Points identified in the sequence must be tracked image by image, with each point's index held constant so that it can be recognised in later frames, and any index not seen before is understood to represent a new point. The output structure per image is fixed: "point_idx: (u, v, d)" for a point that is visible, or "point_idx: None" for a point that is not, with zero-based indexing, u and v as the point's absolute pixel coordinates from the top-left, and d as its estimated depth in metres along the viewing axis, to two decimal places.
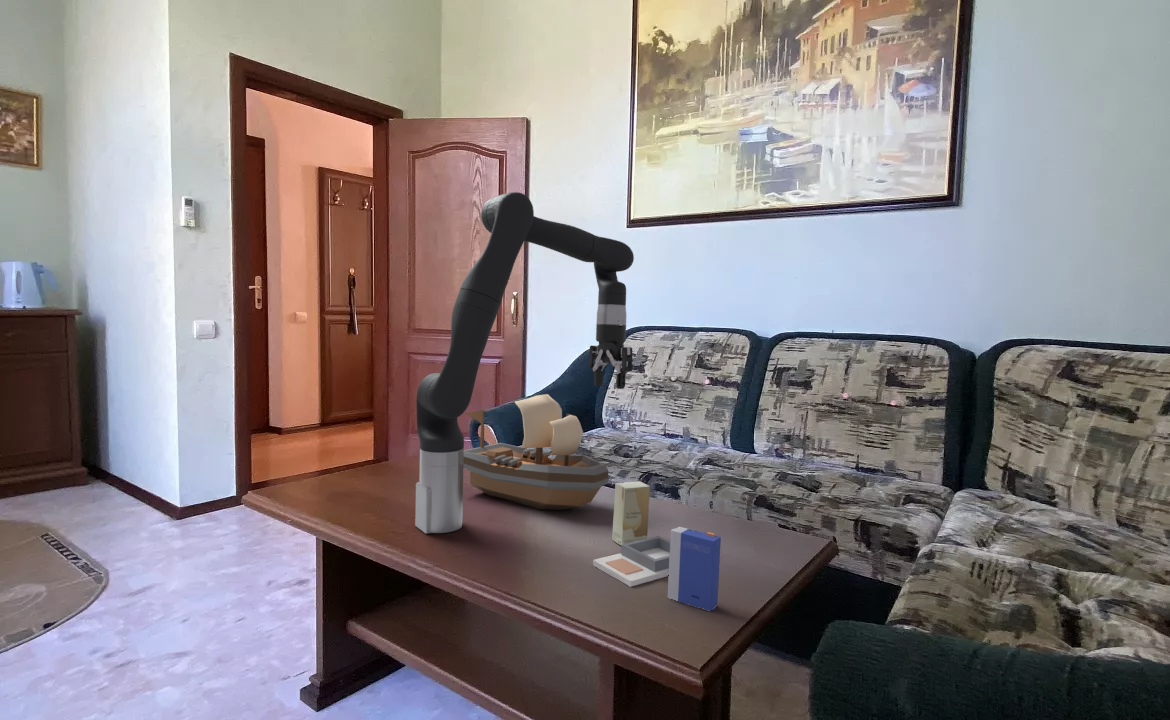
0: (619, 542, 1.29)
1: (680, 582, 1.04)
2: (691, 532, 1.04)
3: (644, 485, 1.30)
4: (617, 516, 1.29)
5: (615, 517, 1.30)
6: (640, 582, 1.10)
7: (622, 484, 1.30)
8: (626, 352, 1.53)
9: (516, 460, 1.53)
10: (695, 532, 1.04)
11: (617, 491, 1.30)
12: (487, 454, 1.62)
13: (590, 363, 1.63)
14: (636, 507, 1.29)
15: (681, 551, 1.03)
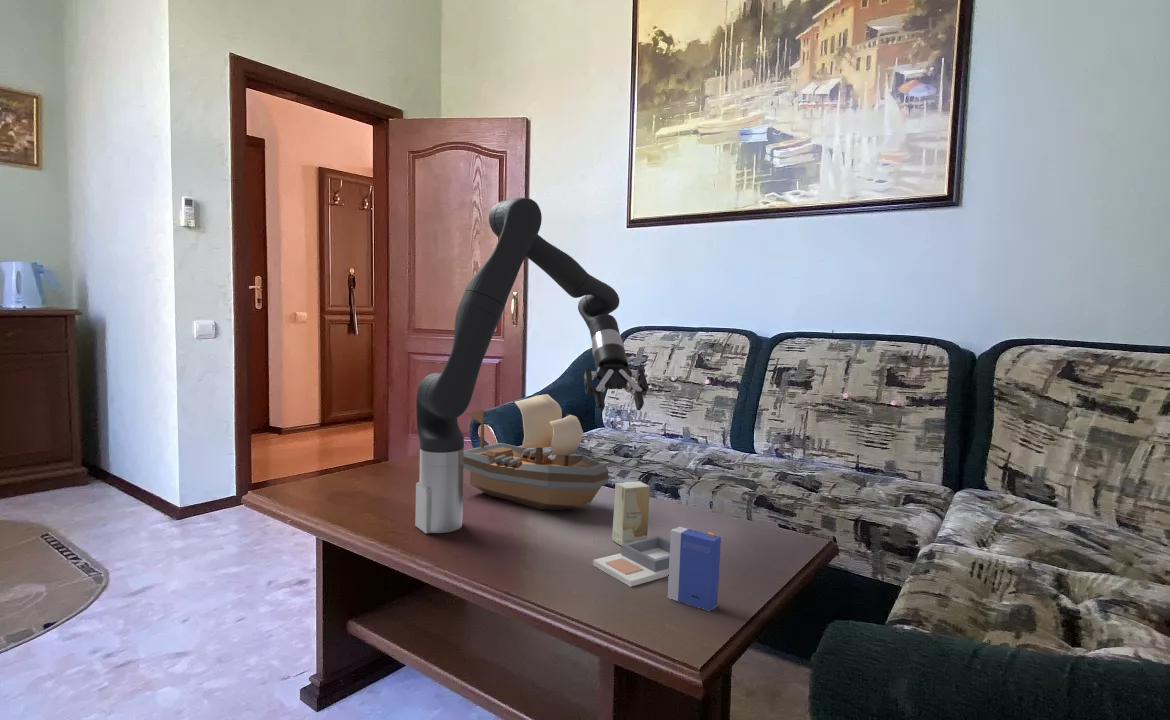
0: (619, 542, 1.29)
1: (680, 582, 1.04)
2: (691, 532, 1.04)
3: (643, 485, 1.30)
4: (617, 516, 1.30)
5: (615, 517, 1.30)
6: (640, 582, 1.10)
7: (622, 484, 1.30)
8: None
9: (516, 460, 1.53)
10: (695, 532, 1.04)
11: (617, 491, 1.30)
12: (487, 454, 1.62)
13: (590, 384, 1.40)
14: (636, 507, 1.29)
15: (681, 551, 1.03)
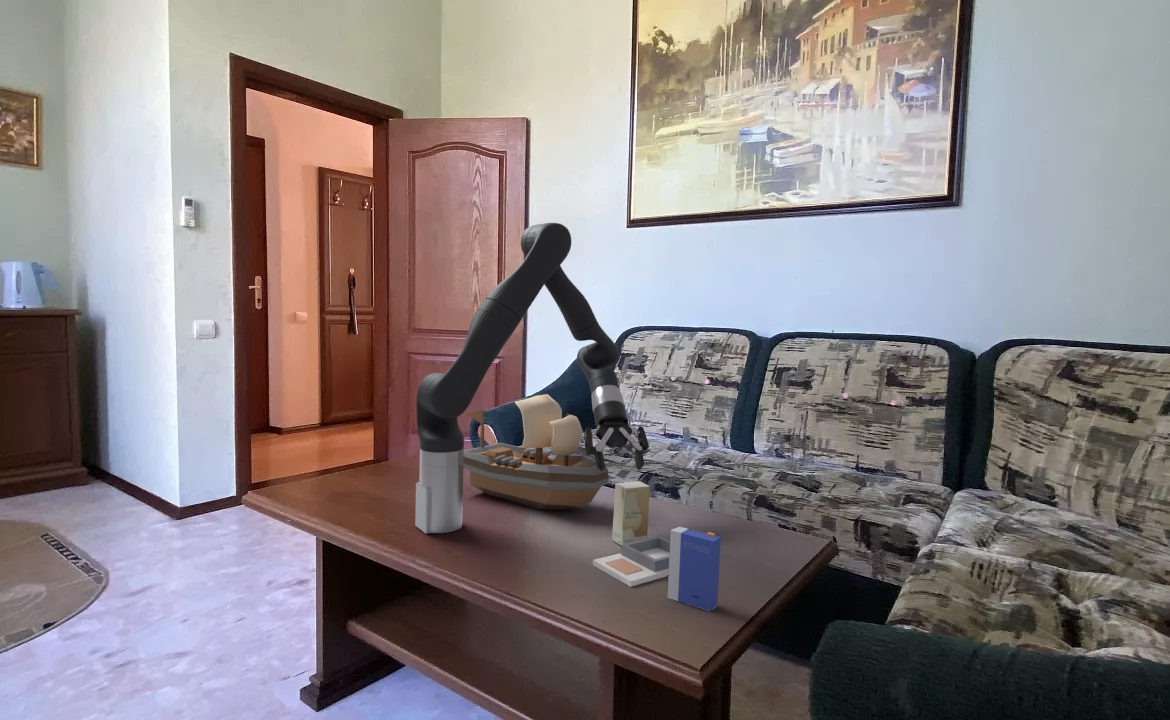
0: (619, 542, 1.29)
1: (680, 582, 1.04)
2: (691, 532, 1.04)
3: (644, 485, 1.30)
4: (617, 516, 1.29)
5: (615, 517, 1.30)
6: (640, 582, 1.10)
7: (622, 484, 1.30)
8: None
9: (516, 460, 1.53)
10: (695, 532, 1.04)
11: (617, 491, 1.30)
12: (487, 454, 1.62)
13: (590, 444, 1.39)
14: (636, 507, 1.29)
15: (681, 551, 1.03)
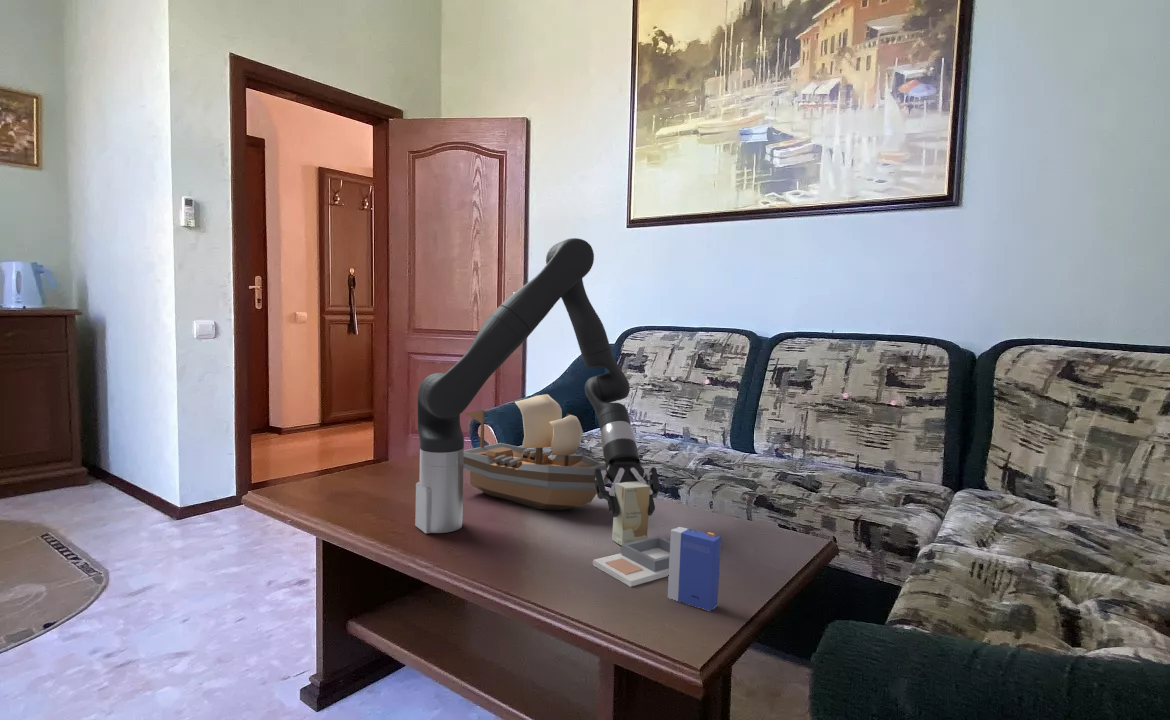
0: (619, 542, 1.29)
1: (680, 582, 1.04)
2: (691, 532, 1.04)
3: (643, 485, 1.30)
4: (617, 516, 1.29)
5: (615, 517, 1.30)
6: (640, 582, 1.10)
7: (622, 484, 1.30)
8: None
9: (516, 460, 1.53)
10: (695, 532, 1.04)
11: (617, 491, 1.30)
12: (487, 454, 1.62)
13: (603, 487, 1.30)
14: (636, 507, 1.29)
15: (681, 551, 1.03)
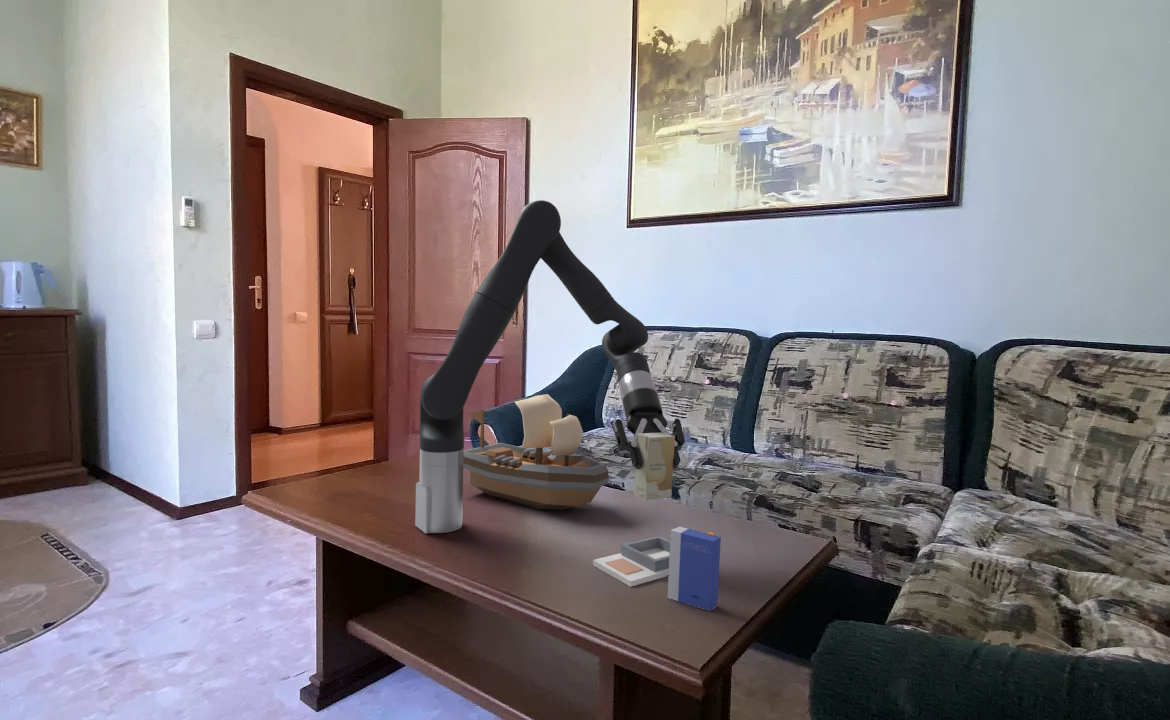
0: (642, 496, 1.20)
1: (680, 582, 1.04)
2: (691, 532, 1.04)
3: (668, 435, 1.21)
4: None
5: (638, 470, 1.21)
6: (640, 582, 1.10)
7: (645, 434, 1.21)
8: None
9: (516, 460, 1.53)
10: (695, 532, 1.04)
11: (640, 442, 1.21)
12: (487, 454, 1.62)
13: (624, 438, 1.22)
14: (661, 458, 1.20)
15: (681, 551, 1.03)
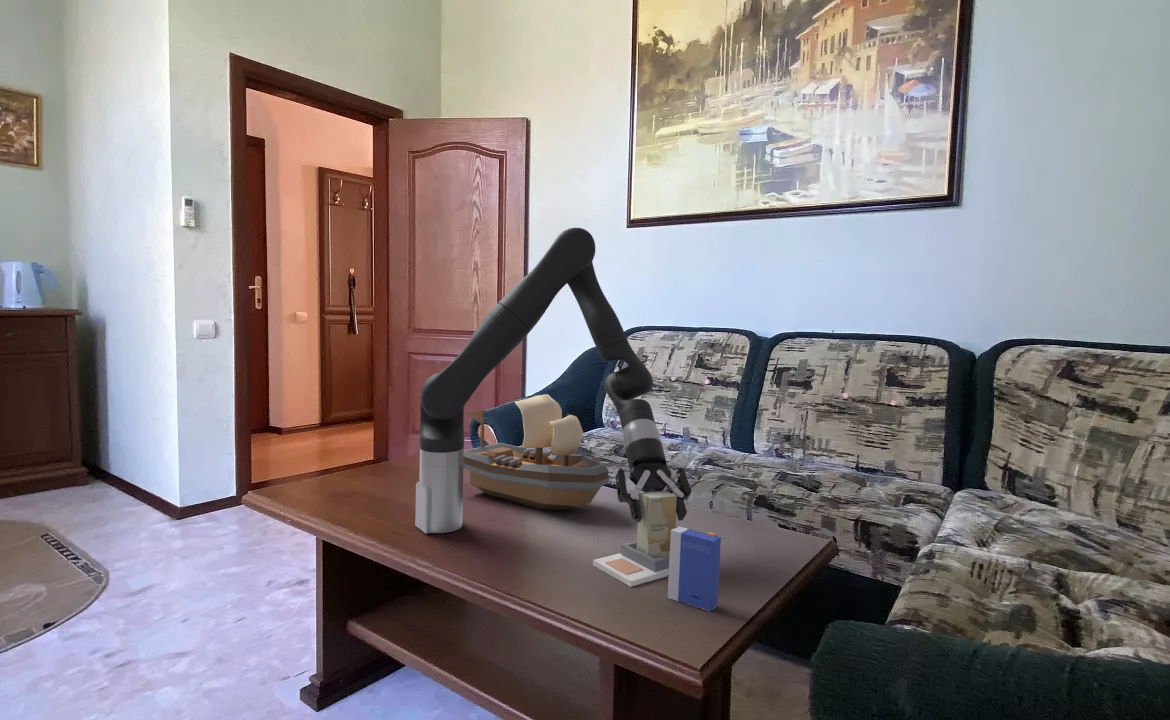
0: None
1: (680, 582, 1.04)
2: (691, 532, 1.04)
3: (670, 495, 1.19)
4: (641, 529, 1.19)
5: (639, 530, 1.20)
6: (640, 582, 1.10)
7: (646, 494, 1.19)
8: None
9: (516, 460, 1.53)
10: (695, 532, 1.04)
11: (641, 502, 1.19)
12: (487, 454, 1.62)
13: (624, 490, 1.19)
14: (663, 519, 1.18)
15: (681, 551, 1.03)
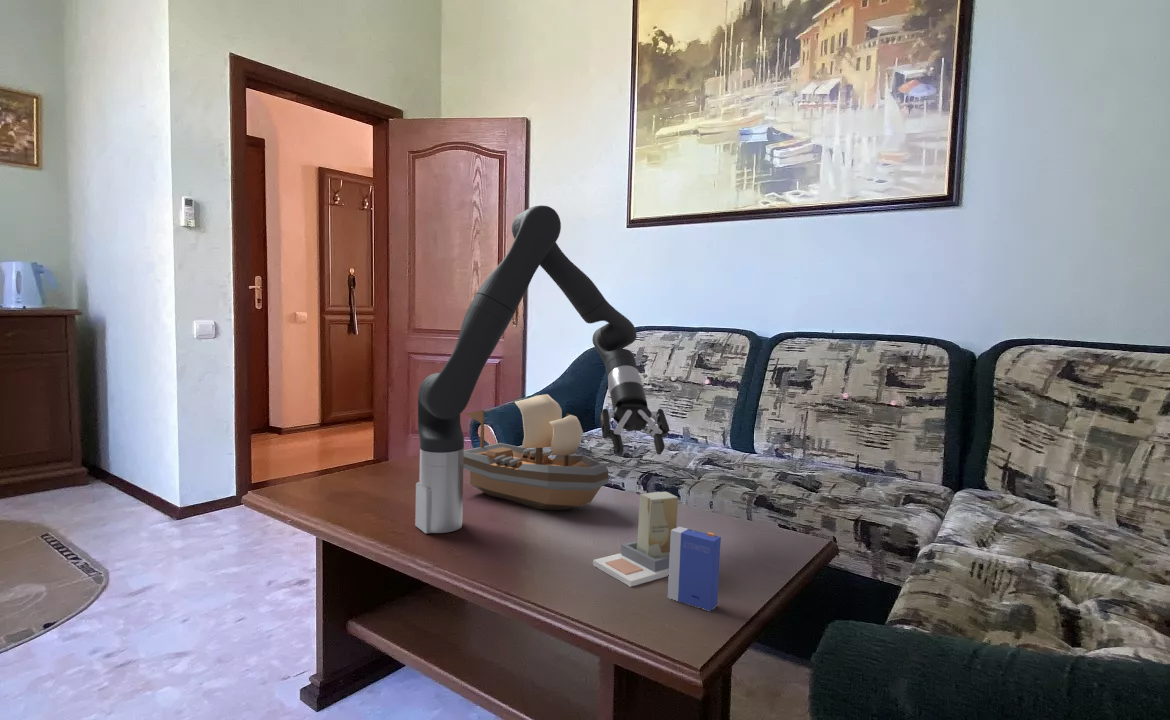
0: None
1: (680, 582, 1.04)
2: (691, 532, 1.04)
3: (671, 496, 1.19)
4: (642, 530, 1.19)
5: (640, 531, 1.19)
6: (640, 582, 1.10)
7: (647, 495, 1.19)
8: None
9: (516, 460, 1.53)
10: (695, 532, 1.04)
11: (642, 502, 1.19)
12: (487, 454, 1.62)
13: (608, 426, 1.31)
14: (663, 520, 1.18)
15: (681, 551, 1.03)
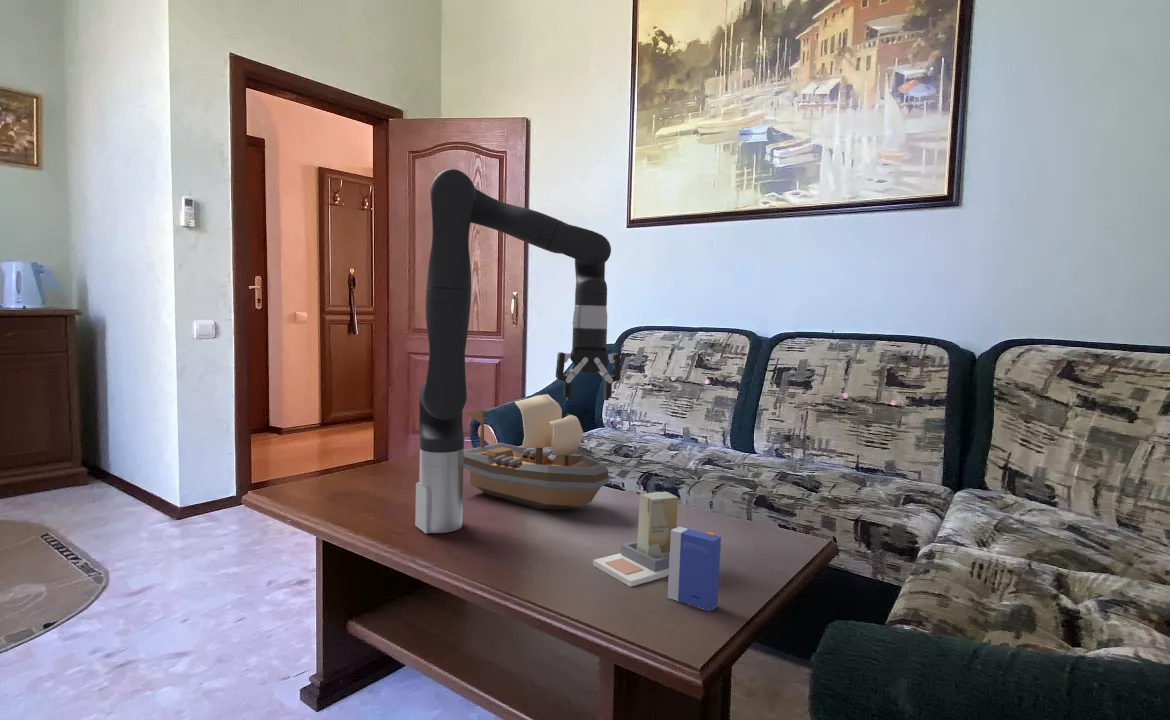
0: None
1: (680, 582, 1.04)
2: (691, 532, 1.04)
3: (671, 496, 1.19)
4: (642, 530, 1.19)
5: (640, 531, 1.19)
6: (640, 582, 1.10)
7: (648, 495, 1.19)
8: None
9: (516, 460, 1.53)
10: (695, 532, 1.04)
11: (642, 502, 1.19)
12: (487, 454, 1.62)
13: (561, 374, 1.36)
14: (663, 520, 1.18)
15: (681, 551, 1.03)
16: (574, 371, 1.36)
